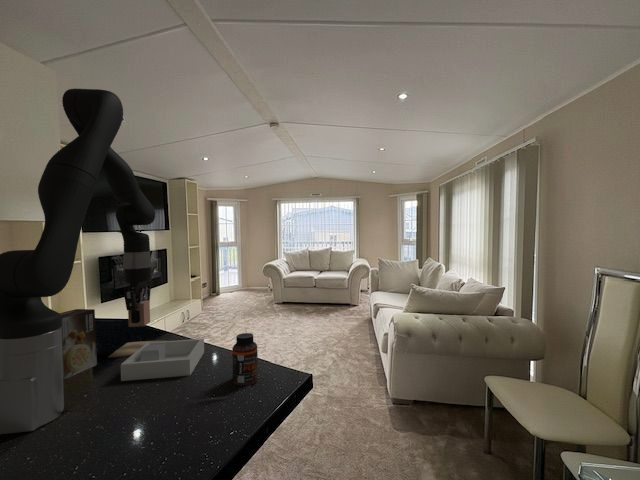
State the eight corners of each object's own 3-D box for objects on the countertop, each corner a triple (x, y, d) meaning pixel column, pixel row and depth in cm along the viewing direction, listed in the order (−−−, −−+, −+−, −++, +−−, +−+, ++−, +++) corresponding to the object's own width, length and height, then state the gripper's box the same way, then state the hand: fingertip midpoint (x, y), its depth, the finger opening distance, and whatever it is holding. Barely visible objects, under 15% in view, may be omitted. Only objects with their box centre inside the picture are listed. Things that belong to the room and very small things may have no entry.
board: (152, 356, 92) (152, 353, 92) (108, 359, 90) (108, 356, 90) (166, 342, 103) (166, 339, 103) (127, 345, 102) (127, 342, 102)
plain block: (159, 368, 81) (158, 349, 81) (140, 370, 81) (140, 351, 81) (165, 361, 86) (164, 344, 86) (147, 363, 85) (147, 345, 85)
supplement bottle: (245, 390, 70) (244, 340, 70) (227, 384, 73) (226, 336, 73) (263, 379, 75) (262, 333, 75) (245, 374, 78) (244, 330, 78)
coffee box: (78, 365, 86) (77, 308, 86) (97, 366, 85) (96, 308, 85) (43, 380, 77) (41, 316, 77) (64, 382, 76) (62, 317, 76)
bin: (190, 377, 77) (189, 359, 77) (121, 383, 75) (120, 364, 75) (204, 353, 93) (203, 338, 93) (147, 358, 90) (147, 342, 90)
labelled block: (144, 325, 95) (143, 303, 95) (128, 326, 94) (127, 304, 94) (150, 321, 99) (149, 300, 99) (135, 322, 99) (134, 300, 98)
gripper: (140, 268, 90) (142, 326, 90) (158, 263, 104) (160, 314, 104) (112, 269, 89) (114, 328, 89) (134, 264, 103) (136, 315, 103)
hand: (139, 320), depth 97 cm, fingers closed on labelled block, 4 cm apart
